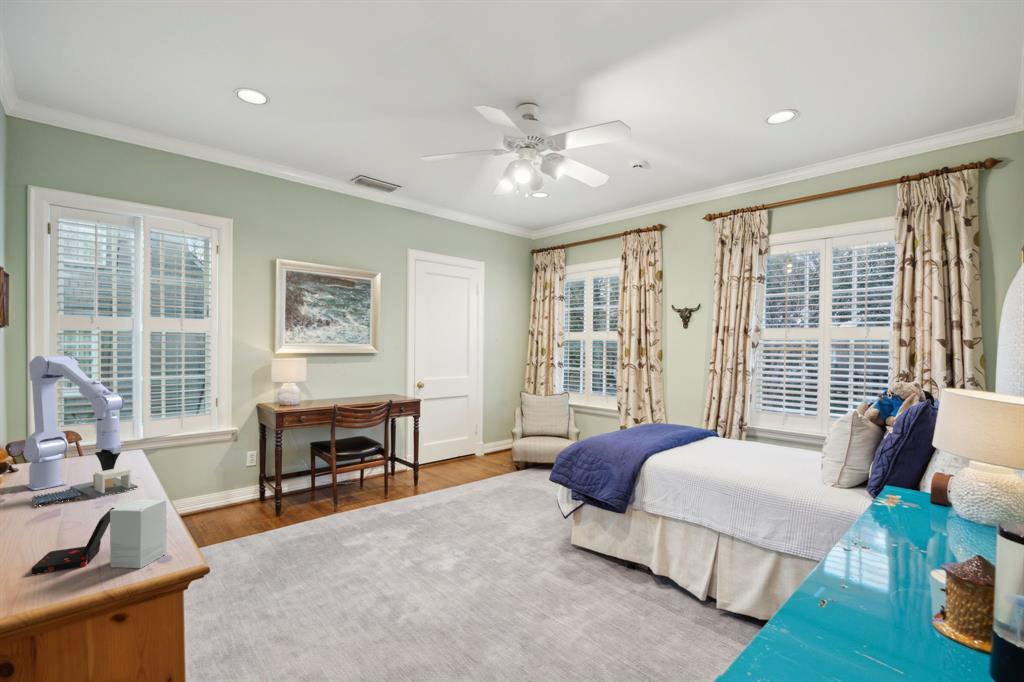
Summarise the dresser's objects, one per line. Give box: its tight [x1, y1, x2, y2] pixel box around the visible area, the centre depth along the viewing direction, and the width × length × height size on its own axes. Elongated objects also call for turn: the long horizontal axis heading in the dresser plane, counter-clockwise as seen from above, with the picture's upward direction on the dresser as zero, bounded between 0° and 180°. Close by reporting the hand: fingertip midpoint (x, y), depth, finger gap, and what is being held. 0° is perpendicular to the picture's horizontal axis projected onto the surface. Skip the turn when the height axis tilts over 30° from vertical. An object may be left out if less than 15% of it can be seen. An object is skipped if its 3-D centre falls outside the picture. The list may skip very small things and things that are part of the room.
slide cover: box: [94, 466, 131, 493], centre depth 153 cm, size 6×7×6 cm
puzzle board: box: [69, 477, 138, 500], centre depth 156 cm, size 18×12×1 cm, turn 58°
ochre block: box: [92, 473, 113, 489], centre depth 157 cm, size 4×4×5 cm
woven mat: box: [31, 488, 82, 508], centre depth 146 cm, size 10×11×2 cm
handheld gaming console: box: [31, 507, 116, 575], centre depth 106 cm, size 9×12×10 cm
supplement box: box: [109, 499, 168, 569], centre depth 106 cm, size 7×7×13 cm
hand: (108, 472), depth 155 cm, fingers closed
